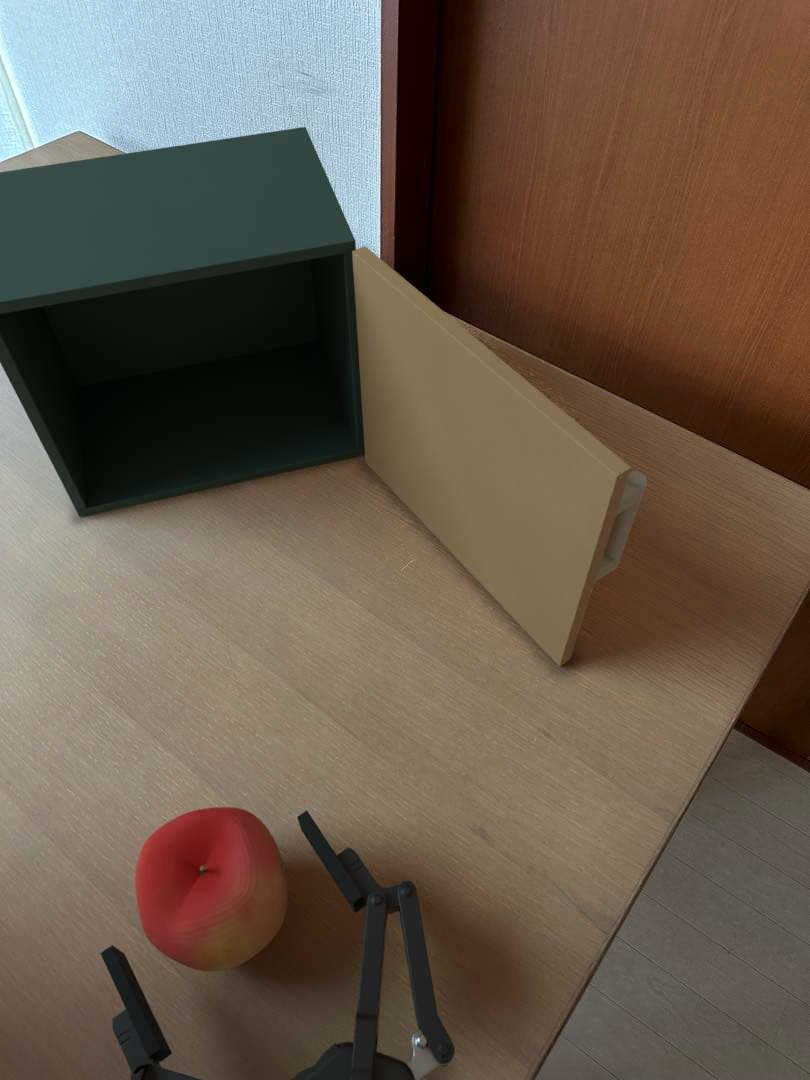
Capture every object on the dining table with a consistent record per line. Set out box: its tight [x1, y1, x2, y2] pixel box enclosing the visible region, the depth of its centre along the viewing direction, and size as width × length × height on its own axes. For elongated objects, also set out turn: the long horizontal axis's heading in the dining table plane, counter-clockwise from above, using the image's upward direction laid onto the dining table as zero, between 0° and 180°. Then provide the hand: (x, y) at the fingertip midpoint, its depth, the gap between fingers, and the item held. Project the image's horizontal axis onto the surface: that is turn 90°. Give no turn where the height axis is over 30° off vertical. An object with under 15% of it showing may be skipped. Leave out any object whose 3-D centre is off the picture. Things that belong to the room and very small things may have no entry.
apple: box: [134, 806, 288, 972], centre depth 53 cm, size 10×10×10 cm
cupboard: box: [0, 126, 365, 518], centre depth 76 cm, size 18×28×24 cm, turn 106°
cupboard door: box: [352, 245, 648, 667], centre depth 67 cm, size 7×28×24 cm, turn 36°
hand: (212, 883), depth 53 cm, fingers open, 13 cm apart
